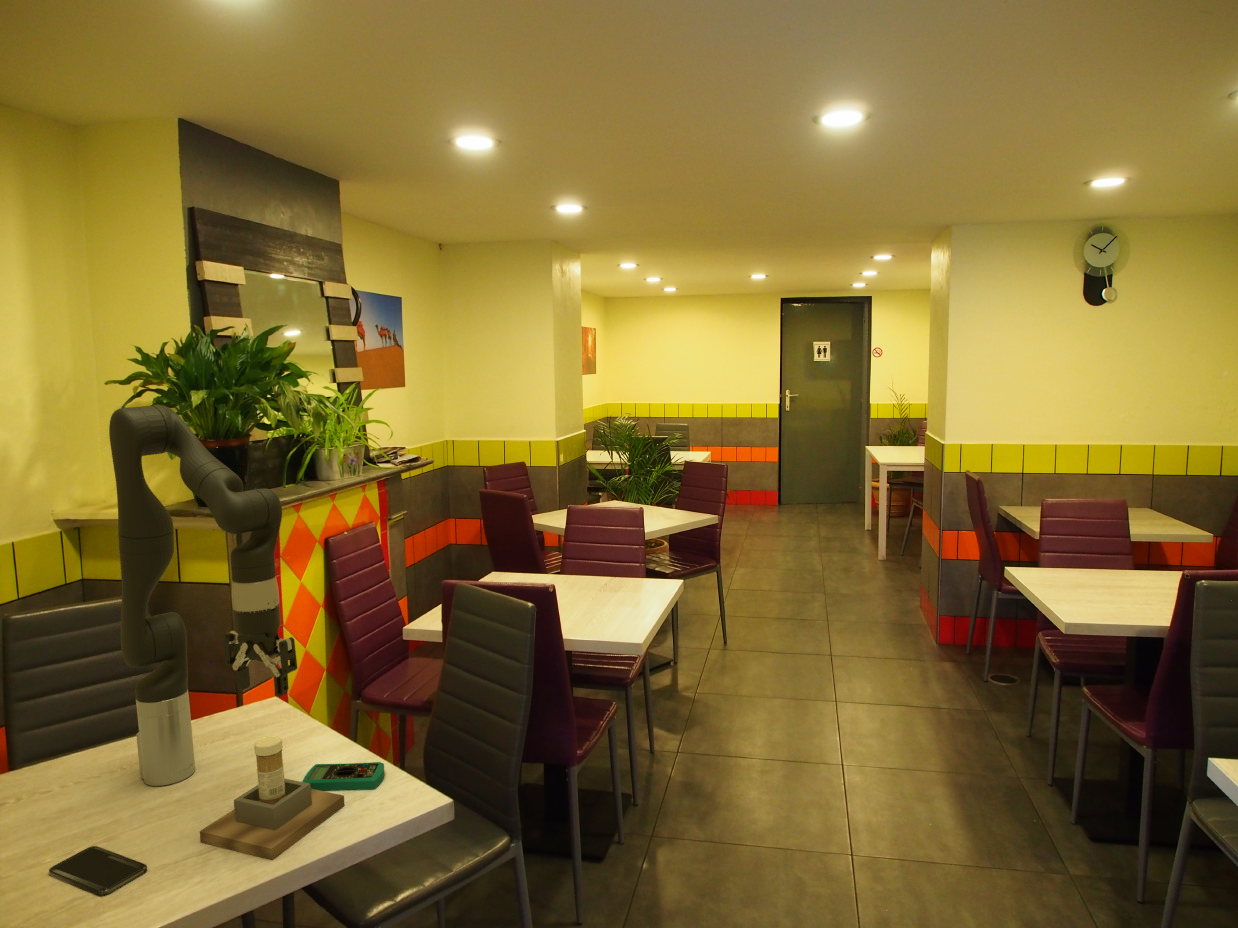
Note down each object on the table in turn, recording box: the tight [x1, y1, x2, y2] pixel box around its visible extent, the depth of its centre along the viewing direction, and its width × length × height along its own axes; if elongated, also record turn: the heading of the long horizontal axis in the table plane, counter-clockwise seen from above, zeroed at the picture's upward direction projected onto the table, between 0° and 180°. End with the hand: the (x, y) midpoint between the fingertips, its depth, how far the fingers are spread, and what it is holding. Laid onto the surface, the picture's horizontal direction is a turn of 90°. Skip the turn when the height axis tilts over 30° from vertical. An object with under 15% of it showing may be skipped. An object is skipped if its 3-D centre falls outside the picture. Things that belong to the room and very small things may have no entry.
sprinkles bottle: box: [253, 735, 286, 805], centre depth 148 cm, size 5×5×13 cm
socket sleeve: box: [233, 778, 312, 830], centre depth 148 cm, size 9×9×4 cm
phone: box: [48, 845, 148, 897], centre depth 135 cm, size 8×1×15 cm
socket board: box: [199, 789, 345, 861], centre depth 148 cm, size 16×18×2 cm
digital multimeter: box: [301, 761, 385, 792], centre depth 163 cm, size 7×15×3 cm, turn 92°
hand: (262, 691), depth 146 cm, fingers open, 8 cm apart
